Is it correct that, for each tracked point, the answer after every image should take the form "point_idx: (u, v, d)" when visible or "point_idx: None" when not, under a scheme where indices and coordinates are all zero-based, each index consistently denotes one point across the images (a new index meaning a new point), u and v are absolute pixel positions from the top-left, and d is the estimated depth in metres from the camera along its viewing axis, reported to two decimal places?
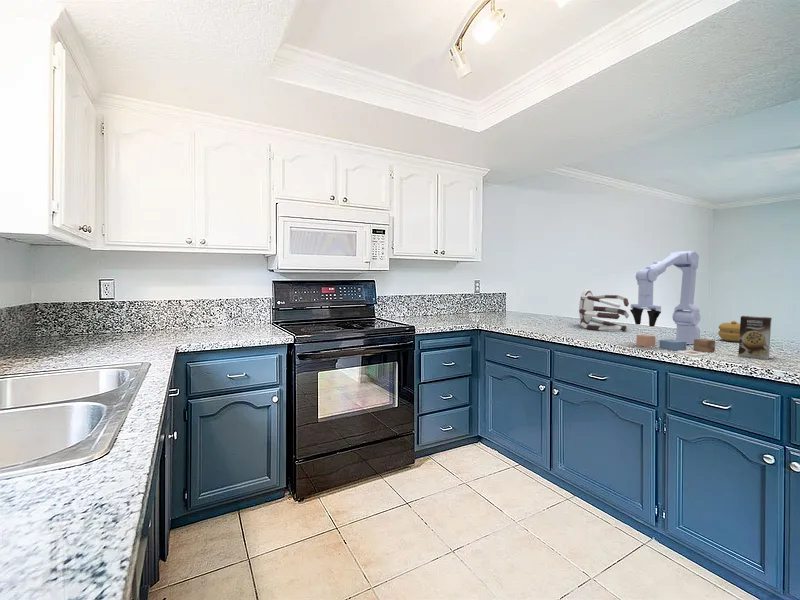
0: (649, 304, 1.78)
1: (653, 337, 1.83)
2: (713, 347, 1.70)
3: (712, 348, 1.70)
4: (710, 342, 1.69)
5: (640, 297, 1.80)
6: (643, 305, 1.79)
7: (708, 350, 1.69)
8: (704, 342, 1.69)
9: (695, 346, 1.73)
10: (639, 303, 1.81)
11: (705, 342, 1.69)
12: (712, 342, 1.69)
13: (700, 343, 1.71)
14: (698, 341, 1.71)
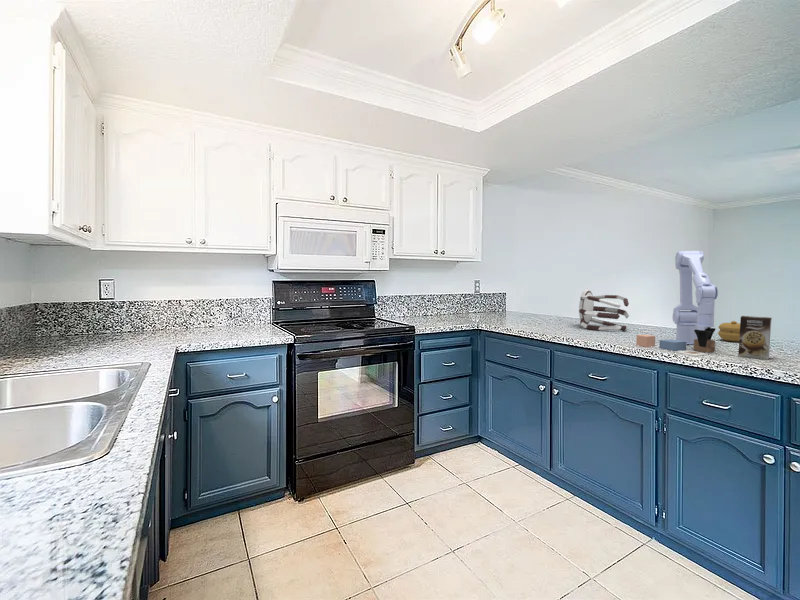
0: (702, 323, 1.70)
1: (653, 337, 1.83)
2: (713, 347, 1.70)
3: (712, 348, 1.70)
4: (710, 342, 1.69)
5: None
6: (697, 324, 1.72)
7: (708, 350, 1.69)
8: None
9: (695, 346, 1.73)
10: None
11: None
12: (712, 342, 1.69)
13: None
14: None
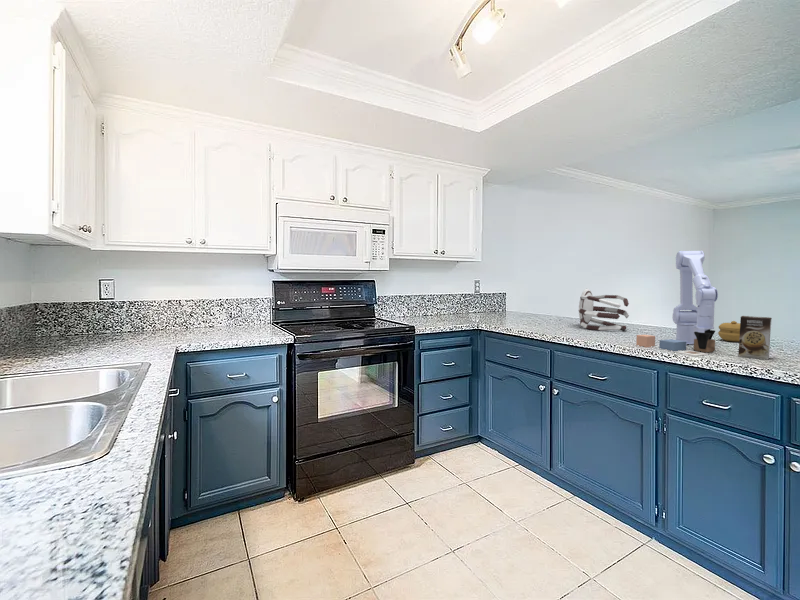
0: (702, 325, 1.70)
1: (653, 337, 1.83)
2: (713, 347, 1.70)
3: (712, 348, 1.70)
4: (710, 342, 1.69)
5: None
6: (697, 326, 1.72)
7: (708, 349, 1.69)
8: None
9: (695, 345, 1.73)
10: None
11: None
12: (712, 342, 1.69)
13: None
14: None
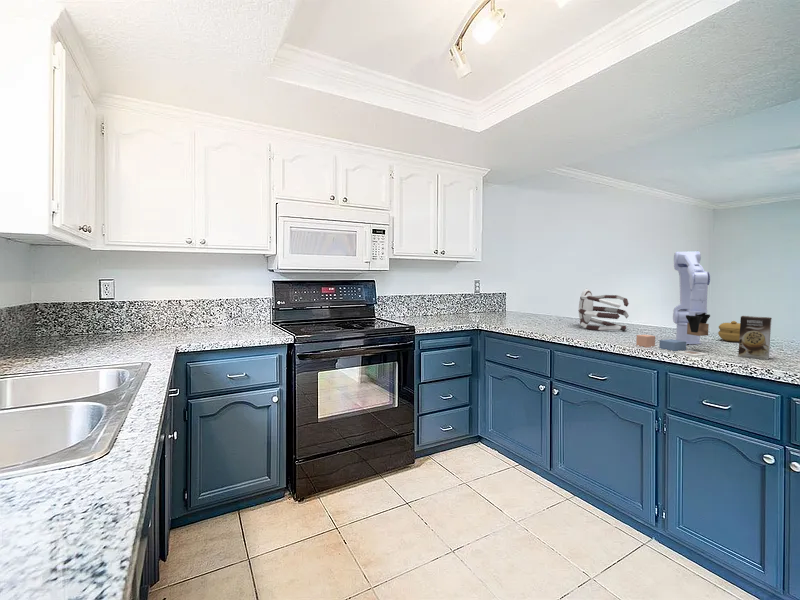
0: (694, 309, 1.71)
1: (653, 337, 1.83)
2: (706, 330, 1.70)
3: (705, 331, 1.70)
4: (703, 325, 1.70)
5: None
6: (690, 309, 1.73)
7: (700, 333, 1.70)
8: None
9: (688, 329, 1.74)
10: None
11: None
12: (705, 325, 1.70)
13: None
14: None
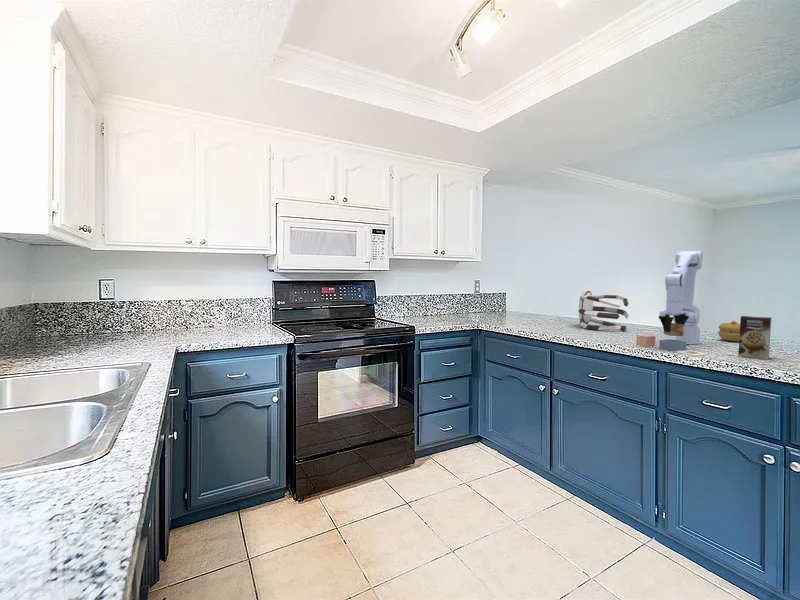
0: (668, 309, 1.76)
1: (653, 337, 1.83)
2: (681, 331, 1.74)
3: (680, 332, 1.74)
4: (676, 326, 1.74)
5: None
6: None
7: (673, 333, 1.74)
8: None
9: None
10: None
11: None
12: (679, 326, 1.73)
13: None
14: None
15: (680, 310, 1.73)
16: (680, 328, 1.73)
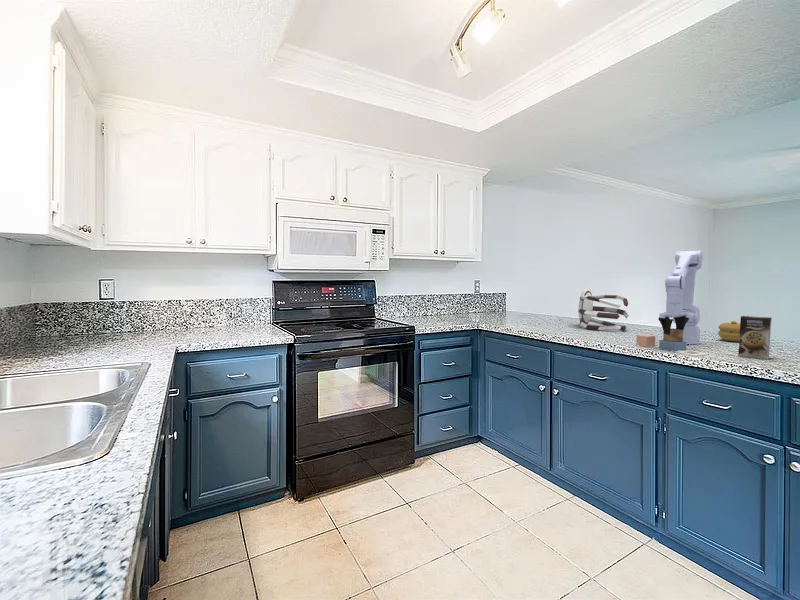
0: (667, 311, 1.76)
1: (653, 337, 1.83)
2: (680, 337, 1.74)
3: (679, 338, 1.74)
4: (676, 332, 1.74)
5: None
6: None
7: (673, 339, 1.74)
8: None
9: (664, 335, 1.79)
10: None
11: (670, 331, 1.74)
12: (679, 332, 1.74)
13: None
14: None
15: (680, 312, 1.73)
16: (680, 334, 1.74)
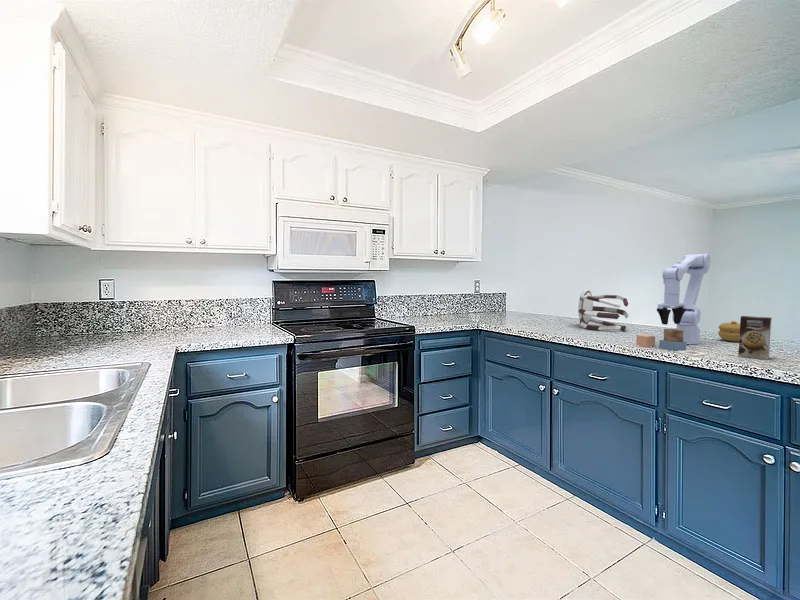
0: (665, 302, 1.82)
1: (653, 337, 1.83)
2: (681, 337, 1.74)
3: (680, 338, 1.74)
4: (676, 332, 1.74)
5: None
6: None
7: (673, 339, 1.74)
8: (669, 331, 1.75)
9: (664, 335, 1.79)
10: None
11: (670, 331, 1.74)
12: (679, 332, 1.74)
13: (667, 332, 1.76)
14: (666, 330, 1.77)
15: (677, 303, 1.79)
16: (680, 334, 1.74)
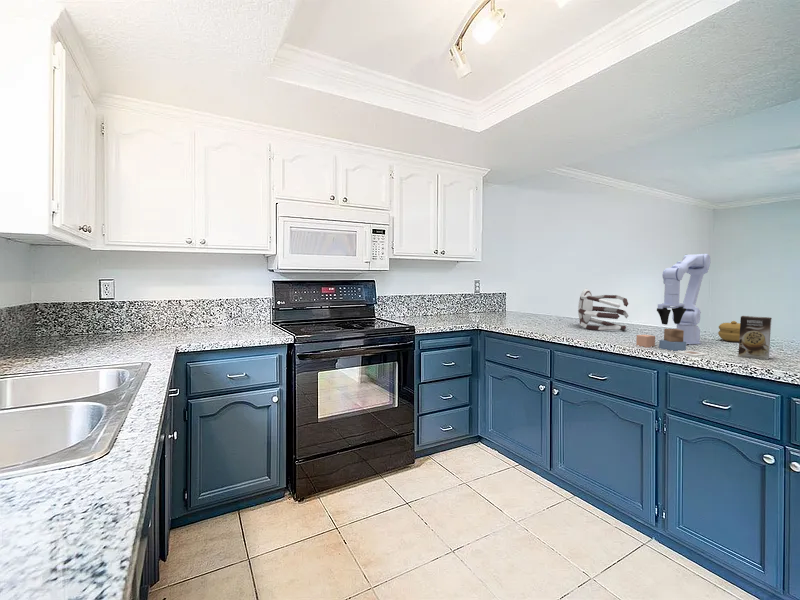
0: (665, 302, 1.82)
1: (653, 337, 1.83)
2: (681, 337, 1.74)
3: (680, 338, 1.74)
4: (676, 332, 1.74)
5: None
6: None
7: (673, 339, 1.74)
8: (669, 331, 1.75)
9: (664, 335, 1.79)
10: None
11: (670, 331, 1.74)
12: (679, 332, 1.74)
13: (667, 332, 1.76)
14: (666, 330, 1.77)
15: (677, 303, 1.79)
16: (680, 334, 1.74)
